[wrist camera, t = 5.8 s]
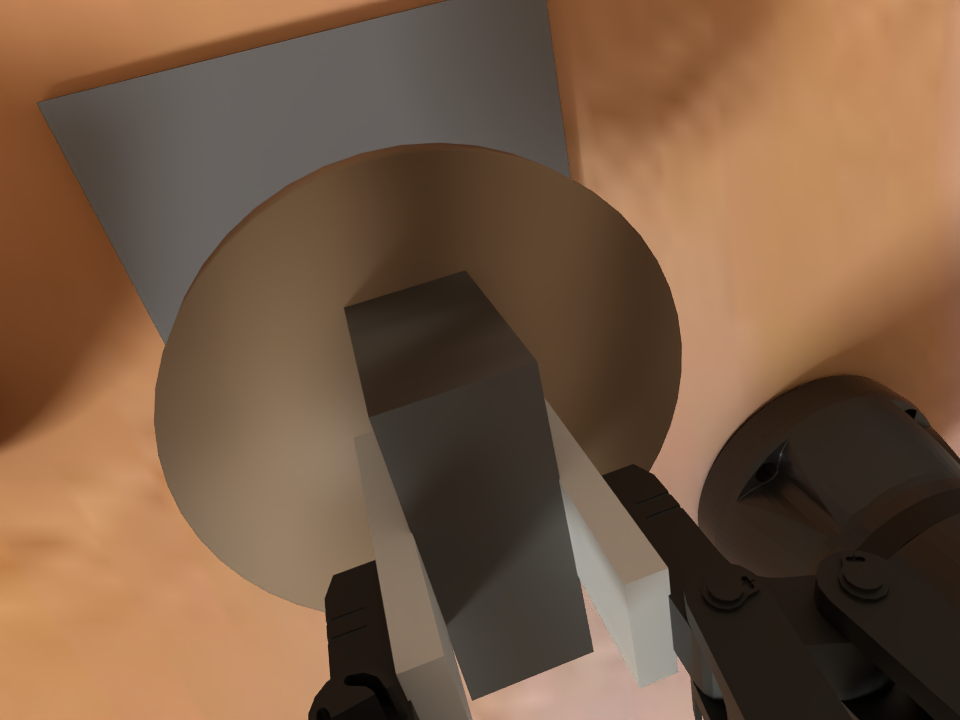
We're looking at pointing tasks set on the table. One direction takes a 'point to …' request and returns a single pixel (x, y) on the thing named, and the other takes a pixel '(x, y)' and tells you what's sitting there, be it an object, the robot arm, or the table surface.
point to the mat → (299, 124)
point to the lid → (419, 385)
